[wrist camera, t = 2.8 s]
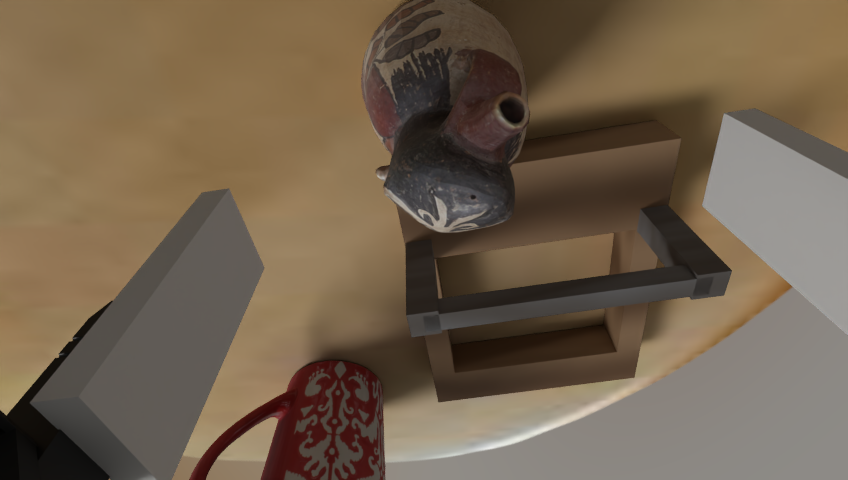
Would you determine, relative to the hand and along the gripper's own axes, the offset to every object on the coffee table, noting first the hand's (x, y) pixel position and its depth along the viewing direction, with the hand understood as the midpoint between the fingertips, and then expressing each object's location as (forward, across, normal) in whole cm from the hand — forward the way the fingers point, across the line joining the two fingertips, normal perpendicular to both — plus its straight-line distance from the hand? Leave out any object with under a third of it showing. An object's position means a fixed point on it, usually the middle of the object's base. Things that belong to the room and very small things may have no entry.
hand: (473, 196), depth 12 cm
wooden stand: (+12, +4, -12) cm, 17 cm away
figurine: (+12, 0, 0) cm, 12 cm away
